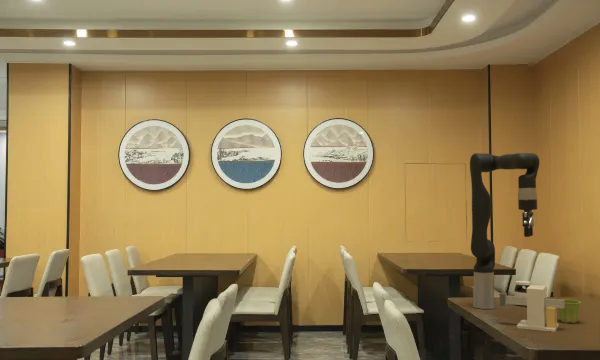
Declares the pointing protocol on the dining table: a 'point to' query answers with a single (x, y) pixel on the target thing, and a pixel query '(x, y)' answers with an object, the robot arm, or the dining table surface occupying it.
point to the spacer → (551, 317)
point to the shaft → (523, 301)
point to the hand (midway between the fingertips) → (528, 236)
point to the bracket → (536, 310)
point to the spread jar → (521, 289)
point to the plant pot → (569, 311)
